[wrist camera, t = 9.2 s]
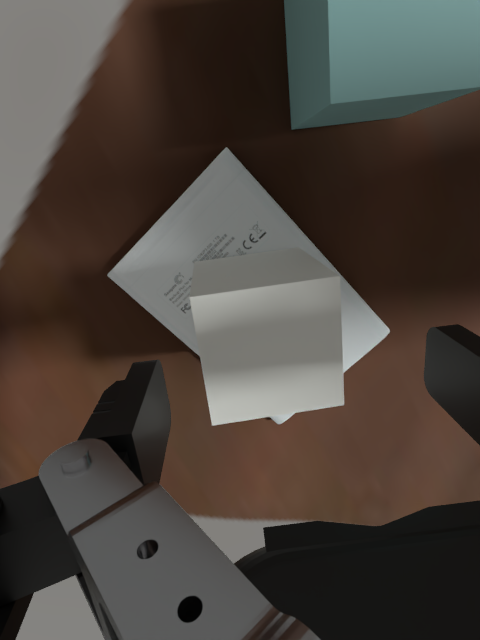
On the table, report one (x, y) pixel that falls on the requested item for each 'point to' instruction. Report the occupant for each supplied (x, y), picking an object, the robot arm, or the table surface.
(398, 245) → the table surface
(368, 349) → the external hard drive
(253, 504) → the table surface
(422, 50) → the teal block
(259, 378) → the white block
